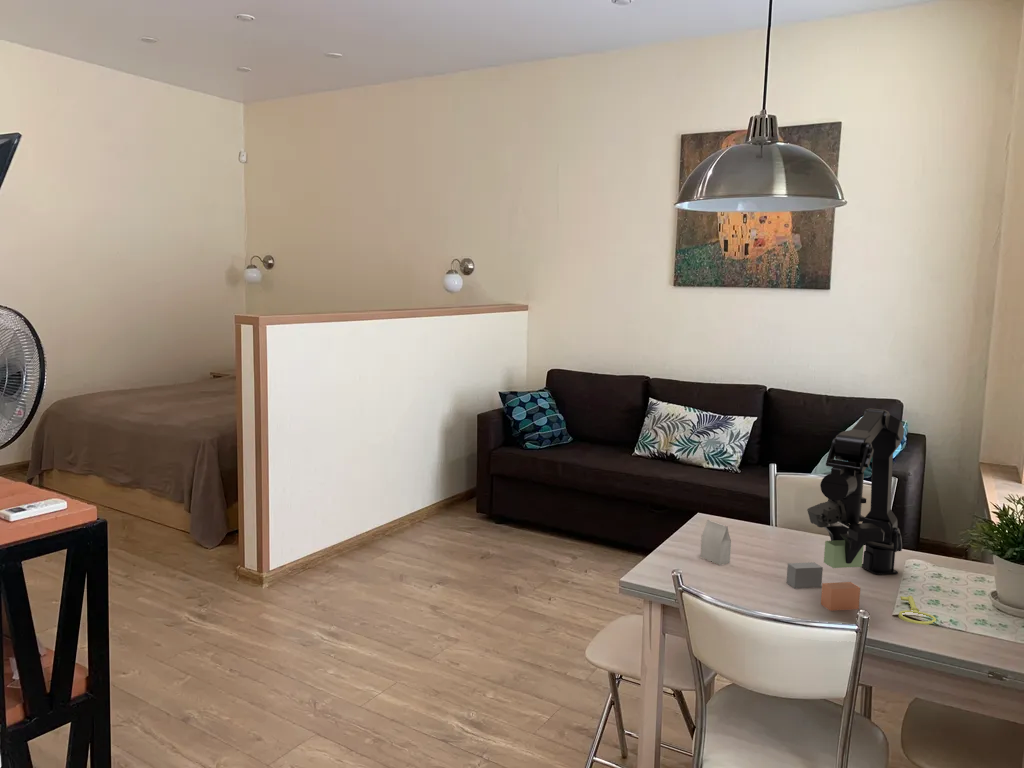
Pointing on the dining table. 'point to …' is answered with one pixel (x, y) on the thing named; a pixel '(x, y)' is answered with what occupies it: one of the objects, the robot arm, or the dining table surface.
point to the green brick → (840, 555)
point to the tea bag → (716, 543)
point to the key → (915, 610)
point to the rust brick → (840, 596)
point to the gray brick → (804, 575)
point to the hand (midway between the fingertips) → (843, 560)
